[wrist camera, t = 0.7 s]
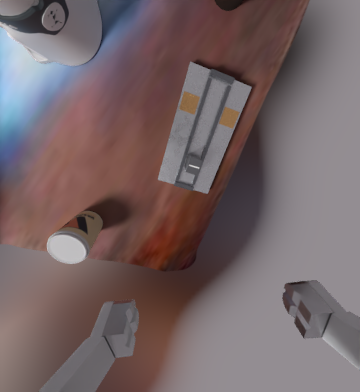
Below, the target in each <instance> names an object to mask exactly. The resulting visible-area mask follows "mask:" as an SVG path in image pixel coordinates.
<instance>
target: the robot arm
mask: <svg viewBox="0 0 360 392" xmlns="http://www.w3.org/2000/svg"><path fill="white" fill-rule="evenodd" d="M0 27H2V28H4V29H5V30H6V31H7V34H8V36H10V37H11V38H12V39H13V40H15V41H17V42H18V43H20V44H22V45H23V46H24V47H25V49H26V50H27V51H28V52H29V54H30V55H31V56H32V58H33V59H34V60H36V61H37V62H39V63H42V64H46V63H51V62H56V63H60V64H63V65H68V66H78V65H82V64H84V63H86V62H88V61H89V60H90V59H91V58H92V57H93V56H94V55H95V53H96V52H97V50H98V48H99V45H100V42H101V37H102V20H101V14H100V10H99V6H98V2H97V0H0ZM284 288H285V290H286V291H285V292H284V293H283V297H282V299H283V303H284V306H285V308H286V310H287V312H288V313H289V314H290V315H291V316H293V317H294V318H295V320H294V323H295V325H296V327H297V328H298V330H299V332H300V333H301V335H302V336H303V338H318V337H322V339H323V340H324V341H326V342H327V343H328V344H329V345H330V346H332V347H333V348H334V349H335V350H336V351H337V352H339V353H340V354H341V355H342V356H343V357H344V358H346V359H347V360H348V361H349V362H350V363H352V364H353V365H354V366H355V367H356V368H357V369H359V370H360V317H358V316H356V315H355V314H353V313H351V312H346V311H345V310H344V309H343V307H341V305H340V304H339V303H338V302H337V301H336V300H335V299H334V298H333V297H332V296H331V295H330V293H329V292H328V291H327V290H326V289H325V288H324V287H323V286H322V285H321V284H320V283H319V282H318V281H316V280H311V281H300V282H292V283H286V284H285V286H284ZM138 317H139V315H138V310H137V308H135V301H134V299H133V300H122V301H111V302H105V303H104V305H103V306H102V309H101V311H100V314H99V316H98V319H97V321H96V324H95V326H94V329H93V331H92V334H91V336H90V338H87V339H86V340H85V341H84V342H83V343H82V344H81V345H80V346H79V348H78V349H77V350H76V351H75V352H74V353H73V354H72V355H71V356H70V358H69V359H68V360H67V361H66V362H65V363H64V364H63V365H62V366H61V367H60V368H59V370H58V371H57V372H56V373H55V374H54V375H53V376H52V377H51V378H50V379H49V381H48V382H47V383H46V384H45V385H44V386H43V387H42V389H40V390H39V392H95V391H96V389H97V388H98V386H99V384H100V383H101V381H102V379H103V378H104V376H105V375H106V373H107V372H108V370H109V368H110V367H111V365H112V364H113V362H114V360H115V358H118V357H126V356H132V355H133V349H134V344H135V337H134V333H135V331H136V330H137V327H138Z"/></svg>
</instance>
